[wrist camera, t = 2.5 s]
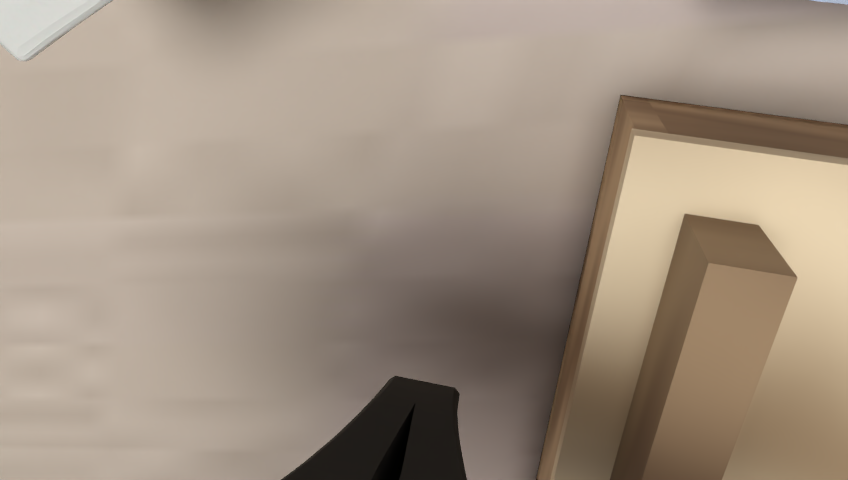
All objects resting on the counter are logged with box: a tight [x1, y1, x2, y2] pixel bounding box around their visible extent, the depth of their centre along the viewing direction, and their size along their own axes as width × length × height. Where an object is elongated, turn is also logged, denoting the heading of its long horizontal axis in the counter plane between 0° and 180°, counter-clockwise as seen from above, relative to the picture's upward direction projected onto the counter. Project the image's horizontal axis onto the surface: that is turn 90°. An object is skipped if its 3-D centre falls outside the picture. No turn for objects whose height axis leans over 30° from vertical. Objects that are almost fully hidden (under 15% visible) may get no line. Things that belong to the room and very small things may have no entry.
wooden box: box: [536, 95, 848, 480], centre depth 15 cm, size 12×10×4 cm
